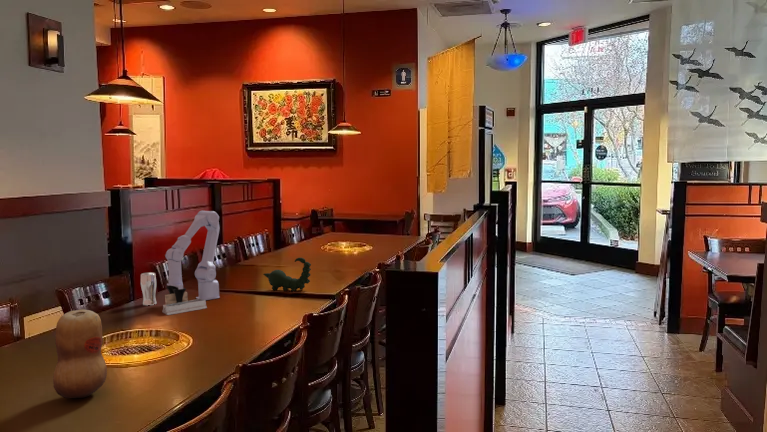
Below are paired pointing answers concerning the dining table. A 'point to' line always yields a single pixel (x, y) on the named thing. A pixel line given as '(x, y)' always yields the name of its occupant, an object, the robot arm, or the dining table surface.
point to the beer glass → (148, 288)
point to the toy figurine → (289, 278)
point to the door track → (184, 306)
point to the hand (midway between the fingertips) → (176, 301)
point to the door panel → (174, 298)
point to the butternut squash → (79, 354)
